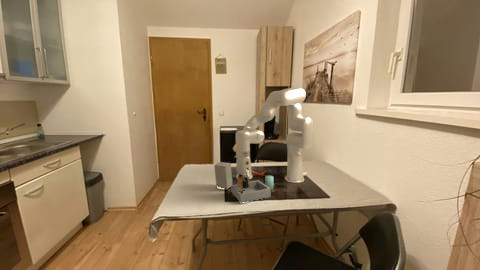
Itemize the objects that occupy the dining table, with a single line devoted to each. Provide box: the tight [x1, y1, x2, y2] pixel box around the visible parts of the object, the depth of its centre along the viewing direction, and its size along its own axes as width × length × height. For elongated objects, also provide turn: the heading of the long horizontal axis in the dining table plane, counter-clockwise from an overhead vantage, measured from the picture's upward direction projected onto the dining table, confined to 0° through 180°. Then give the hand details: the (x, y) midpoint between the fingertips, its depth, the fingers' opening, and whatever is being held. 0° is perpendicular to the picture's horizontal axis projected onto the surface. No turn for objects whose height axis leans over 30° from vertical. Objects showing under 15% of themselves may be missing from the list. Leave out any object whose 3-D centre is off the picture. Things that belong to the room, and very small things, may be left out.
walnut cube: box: [236, 176, 250, 189], centre depth 116 cm, size 5×5×5 cm
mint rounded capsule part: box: [264, 175, 275, 190], centre depth 128 cm, size 5×5×7 cm
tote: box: [230, 179, 272, 203], centre depth 119 cm, size 18×14×5 cm
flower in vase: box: [232, 143, 253, 181], centre depth 142 cm, size 13×11×25 cm
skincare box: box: [213, 161, 234, 189], centre depth 128 cm, size 8×7×16 cm
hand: (243, 185), depth 116 cm, fingers closed on walnut cube, 5 cm apart
